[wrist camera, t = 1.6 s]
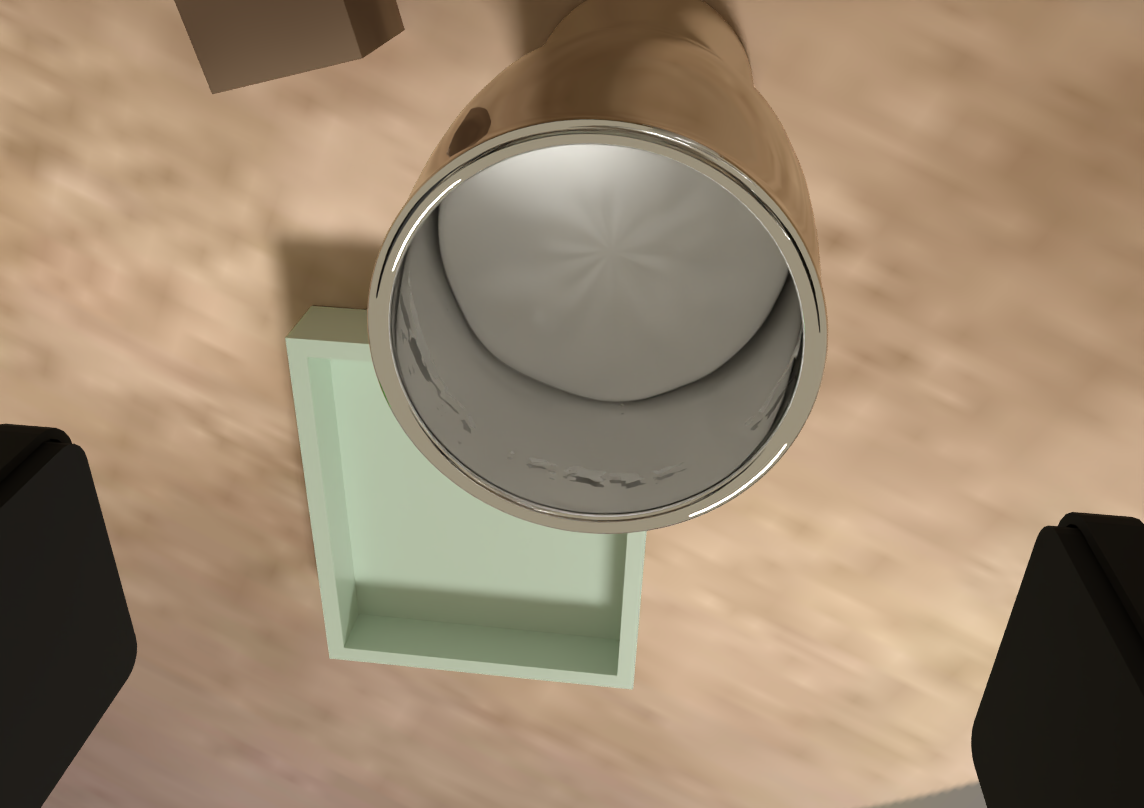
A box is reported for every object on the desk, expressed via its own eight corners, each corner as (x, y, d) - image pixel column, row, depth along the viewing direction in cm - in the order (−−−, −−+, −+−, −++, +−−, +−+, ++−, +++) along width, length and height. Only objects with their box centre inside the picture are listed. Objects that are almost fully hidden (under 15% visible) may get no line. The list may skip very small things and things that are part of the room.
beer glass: (472, 141, 28) (279, 407, 15) (599, -93, 24) (492, -14, 11) (676, 266, 29) (662, 613, 16) (824, 60, 25) (956, 288, 13)
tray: (311, 305, 31) (285, 337, 29) (662, 331, 30) (660, 366, 28) (348, 615, 38) (329, 658, 36) (636, 643, 37) (632, 689, 35)
